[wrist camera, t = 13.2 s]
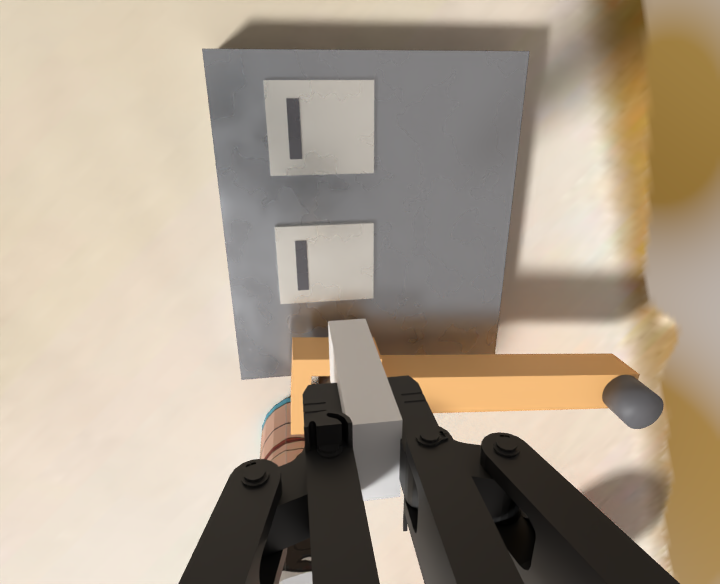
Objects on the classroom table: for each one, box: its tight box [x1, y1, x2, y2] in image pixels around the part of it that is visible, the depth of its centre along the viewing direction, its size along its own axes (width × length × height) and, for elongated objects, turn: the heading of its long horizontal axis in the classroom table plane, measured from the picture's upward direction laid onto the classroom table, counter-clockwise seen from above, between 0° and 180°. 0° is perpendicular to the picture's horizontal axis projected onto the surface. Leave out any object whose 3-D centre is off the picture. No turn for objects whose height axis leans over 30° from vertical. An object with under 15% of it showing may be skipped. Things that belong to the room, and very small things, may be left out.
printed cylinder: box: [260, 397, 313, 584], centre depth 31 cm, size 7×7×15 cm
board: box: [202, 49, 529, 384], centre depth 28 cm, size 20×18×8 cm
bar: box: [291, 337, 663, 435], centre depth 30 cm, size 23×5×5 cm, turn 86°
